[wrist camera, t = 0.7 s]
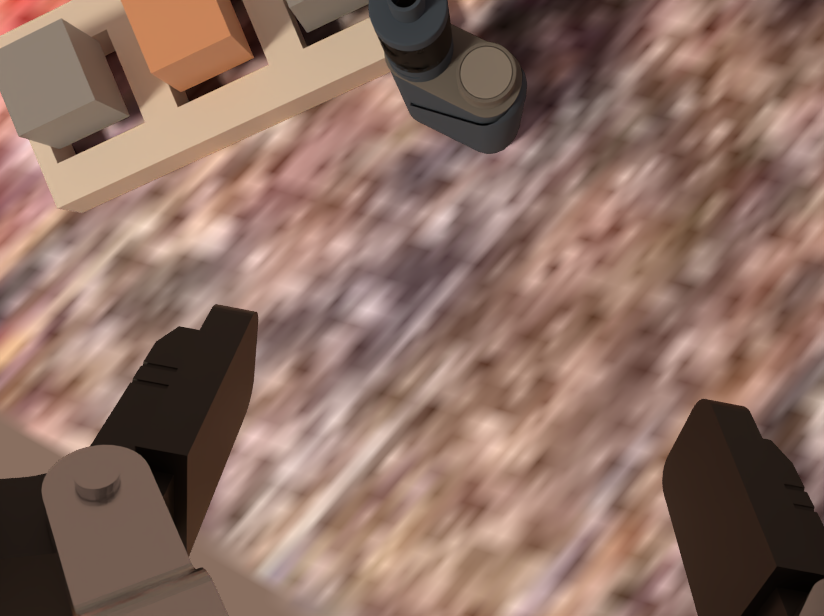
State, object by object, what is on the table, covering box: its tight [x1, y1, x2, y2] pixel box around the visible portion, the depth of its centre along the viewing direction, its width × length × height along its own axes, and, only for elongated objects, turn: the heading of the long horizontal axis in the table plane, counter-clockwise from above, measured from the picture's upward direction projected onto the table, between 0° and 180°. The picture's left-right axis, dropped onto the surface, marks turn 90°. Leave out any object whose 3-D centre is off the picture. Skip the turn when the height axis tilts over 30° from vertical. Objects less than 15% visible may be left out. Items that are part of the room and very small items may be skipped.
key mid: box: [121, 0, 254, 92], centre depth 30 cm, size 4×4×3 cm
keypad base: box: [0, 0, 391, 213], centre depth 32 cm, size 18×8×2 cm, turn 113°
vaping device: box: [368, 0, 527, 154], centre depth 26 cm, size 3×5×12 cm, turn 62°
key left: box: [0, 18, 130, 149], centre depth 30 cm, size 4×4×3 cm
